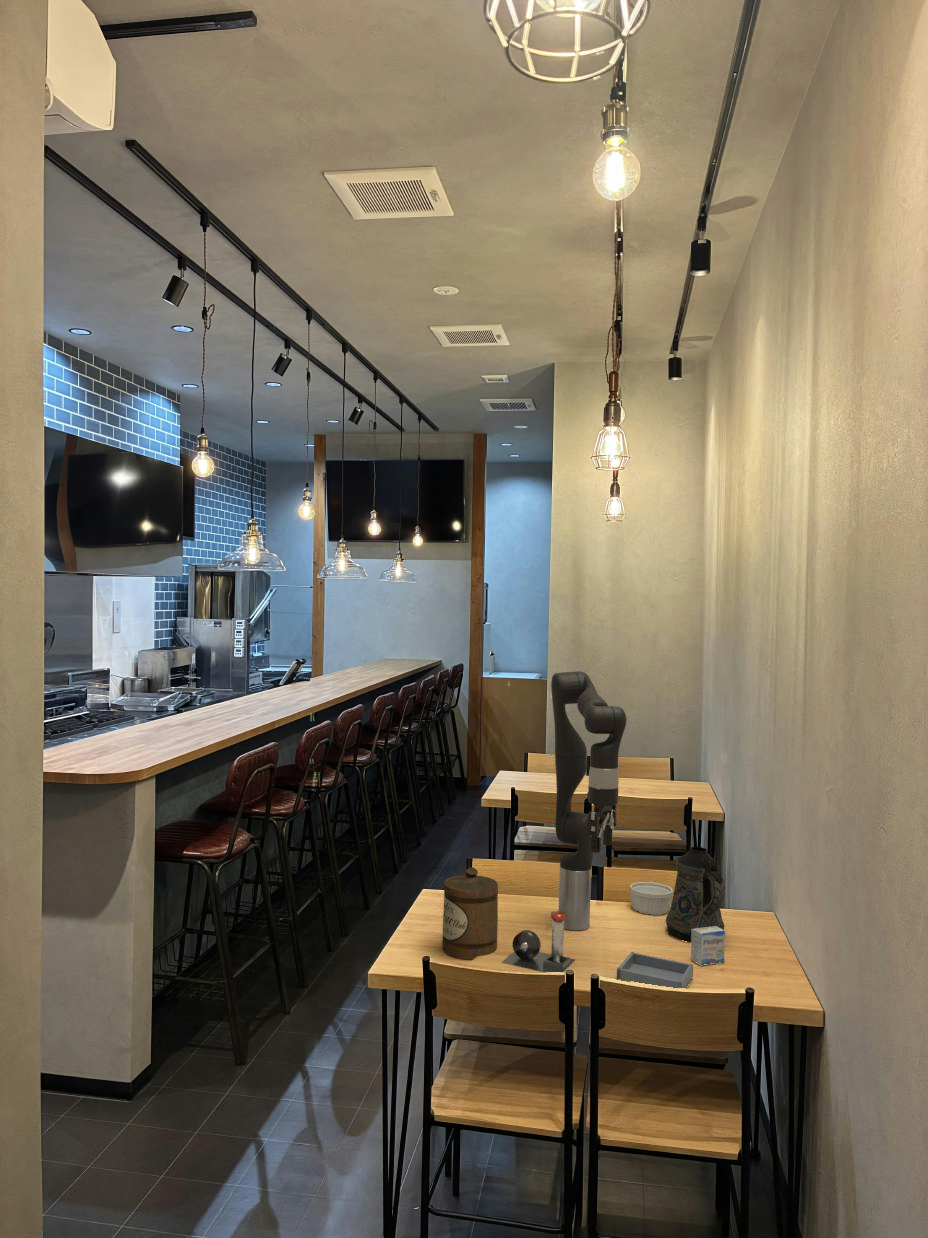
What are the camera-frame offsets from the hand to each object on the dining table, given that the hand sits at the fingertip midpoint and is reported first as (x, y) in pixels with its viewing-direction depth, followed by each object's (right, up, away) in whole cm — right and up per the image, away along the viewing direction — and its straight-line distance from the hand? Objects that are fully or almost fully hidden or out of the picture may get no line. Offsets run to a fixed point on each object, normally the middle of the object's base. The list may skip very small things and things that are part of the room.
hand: (601, 848), depth 221 cm
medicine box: (+30, -33, +11) cm, 46 cm away
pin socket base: (-16, -32, +5) cm, 36 cm away
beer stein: (+33, -34, +31) cm, 56 cm away
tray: (+13, -33, -3) cm, 35 cm away
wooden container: (-34, -31, +14) cm, 48 cm away
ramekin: (+24, -33, +52) cm, 66 cm away
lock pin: (-11, -31, +3) cm, 33 cm away
